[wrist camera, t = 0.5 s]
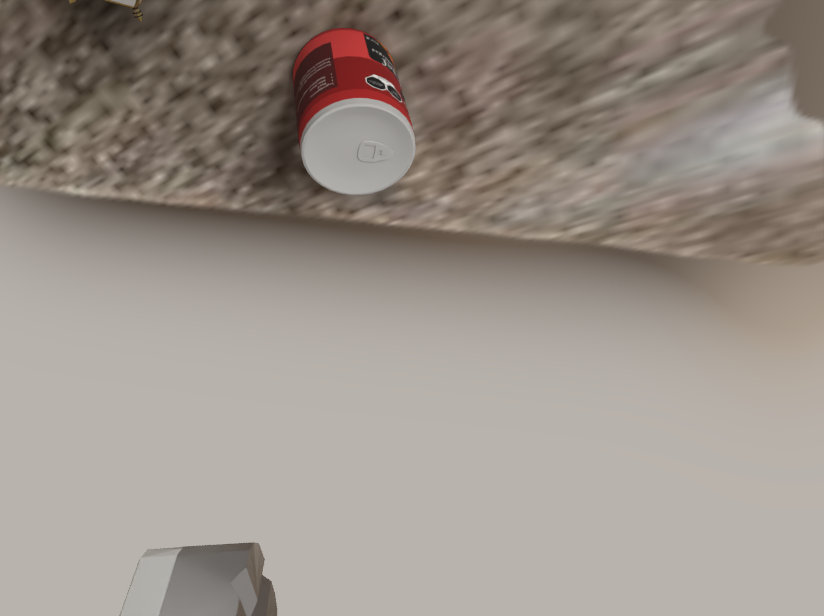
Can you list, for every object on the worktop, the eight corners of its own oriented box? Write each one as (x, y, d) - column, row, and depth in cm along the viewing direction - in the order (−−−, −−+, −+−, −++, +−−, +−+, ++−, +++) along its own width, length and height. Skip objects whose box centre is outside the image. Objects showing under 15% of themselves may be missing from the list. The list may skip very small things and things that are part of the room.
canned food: (397, 106, 63) (419, 188, 56) (300, 119, 63) (309, 204, 55) (390, 17, 58) (414, 95, 50) (284, 30, 57) (291, 111, 50)
